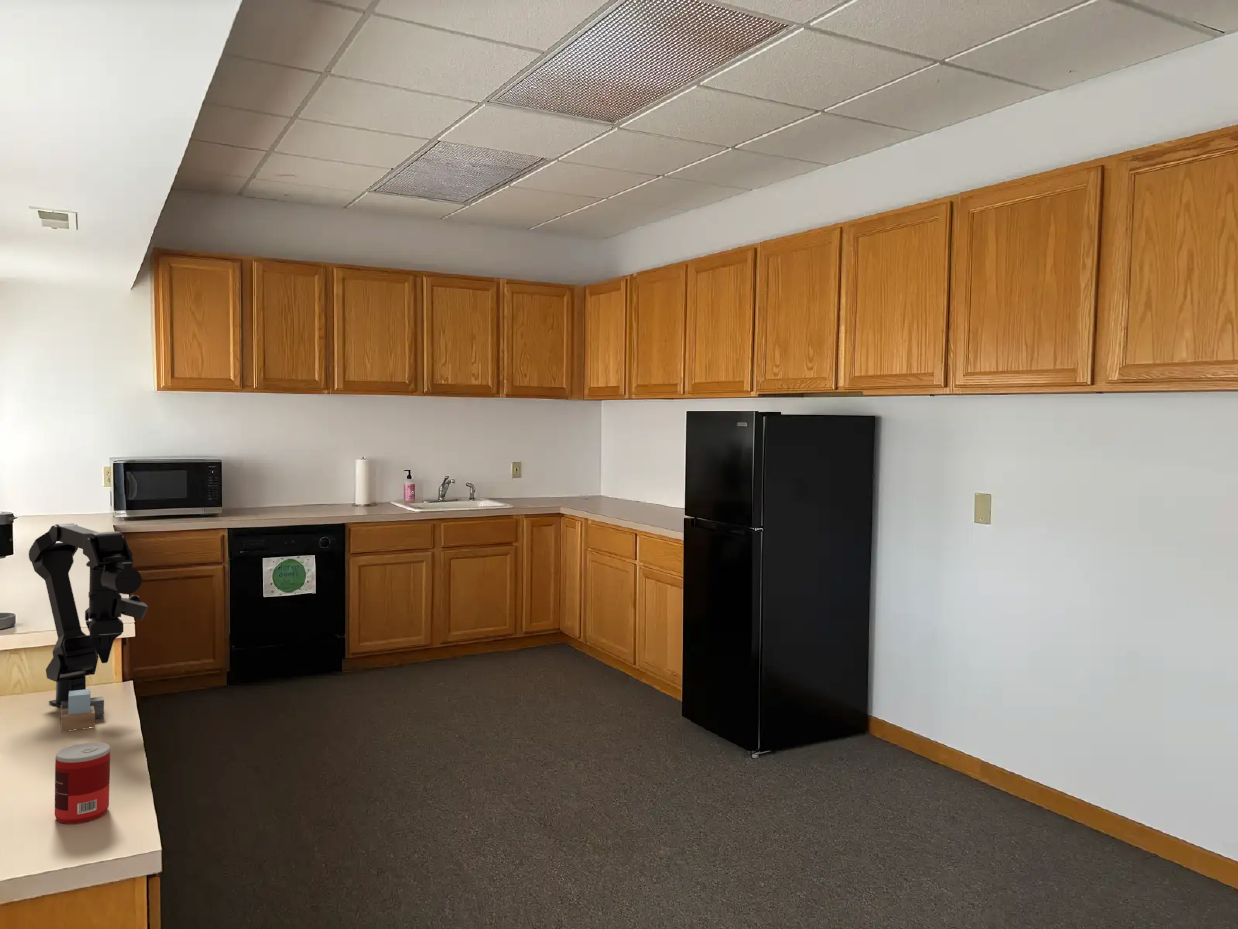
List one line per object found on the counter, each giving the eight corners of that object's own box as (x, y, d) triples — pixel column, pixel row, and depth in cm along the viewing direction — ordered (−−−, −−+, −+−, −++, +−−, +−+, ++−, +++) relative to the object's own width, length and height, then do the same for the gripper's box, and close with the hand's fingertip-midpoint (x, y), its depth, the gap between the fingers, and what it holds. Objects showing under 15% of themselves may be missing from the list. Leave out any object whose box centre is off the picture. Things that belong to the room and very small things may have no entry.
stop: (60, 719, 195) (60, 701, 195) (102, 714, 199) (103, 696, 199) (61, 723, 192) (61, 705, 192) (103, 718, 197) (104, 700, 197)
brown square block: (60, 725, 192) (61, 709, 192) (92, 721, 196) (93, 705, 196) (61, 733, 187) (62, 717, 187) (94, 729, 191) (95, 713, 191)
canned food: (119, 806, 153) (120, 743, 153) (86, 826, 145) (88, 760, 145) (77, 803, 154) (78, 740, 153) (43, 823, 146) (44, 757, 145)
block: (68, 709, 192) (69, 691, 192) (90, 707, 194) (90, 689, 194) (68, 714, 189) (68, 696, 189) (90, 712, 191) (90, 694, 191)
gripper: (150, 593, 194) (148, 664, 195) (140, 579, 210) (139, 645, 210) (91, 596, 188) (89, 669, 188) (85, 582, 203) (84, 650, 204)
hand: (102, 658), depth 198 cm, fingers open, 9 cm apart
